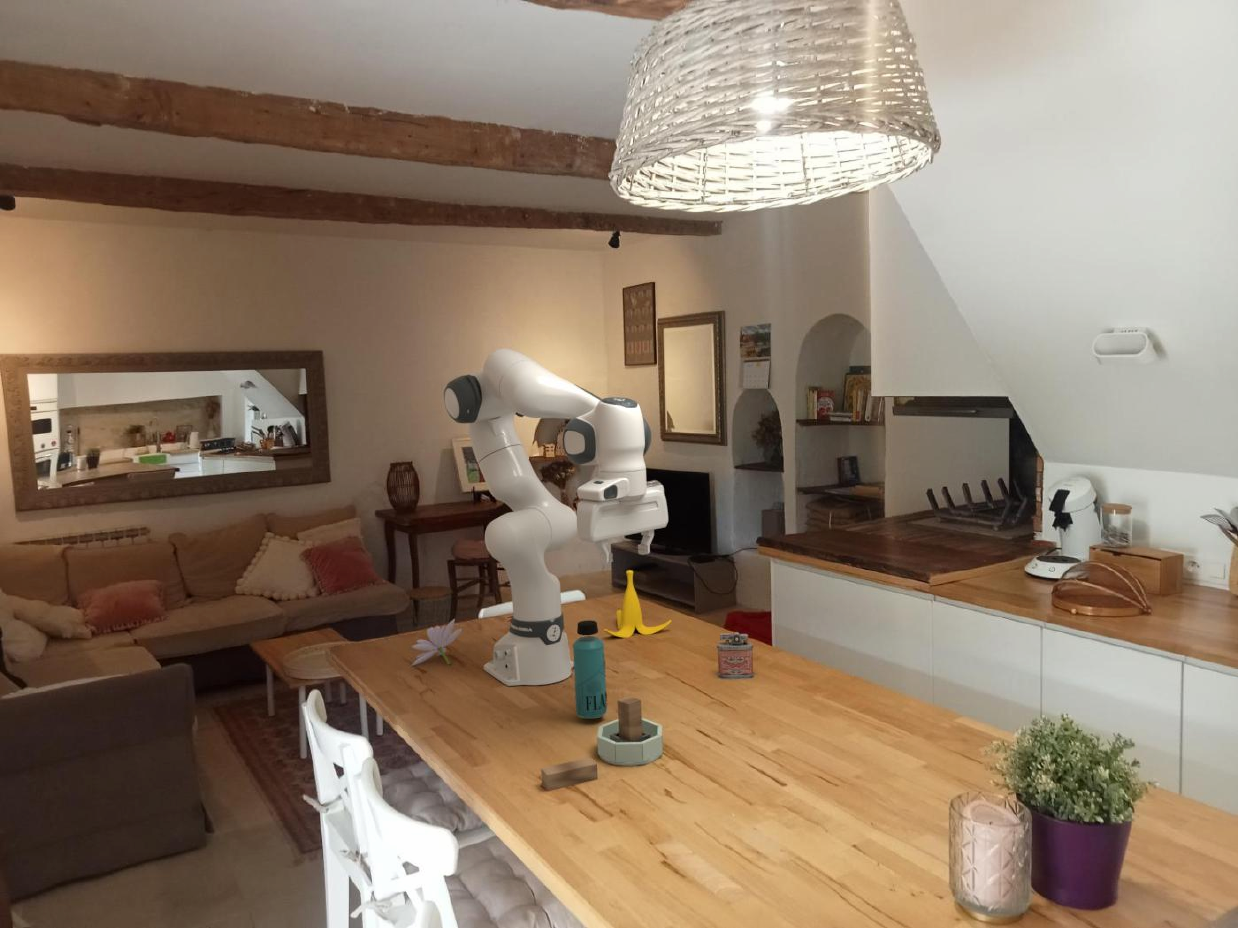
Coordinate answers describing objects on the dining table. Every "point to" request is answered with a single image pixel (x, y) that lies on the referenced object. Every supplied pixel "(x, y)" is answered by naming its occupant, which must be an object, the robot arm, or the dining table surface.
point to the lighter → (735, 657)
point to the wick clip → (617, 739)
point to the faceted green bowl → (630, 745)
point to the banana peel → (632, 614)
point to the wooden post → (630, 718)
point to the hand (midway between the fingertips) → (625, 558)
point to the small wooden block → (569, 774)
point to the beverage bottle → (589, 672)
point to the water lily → (436, 642)
